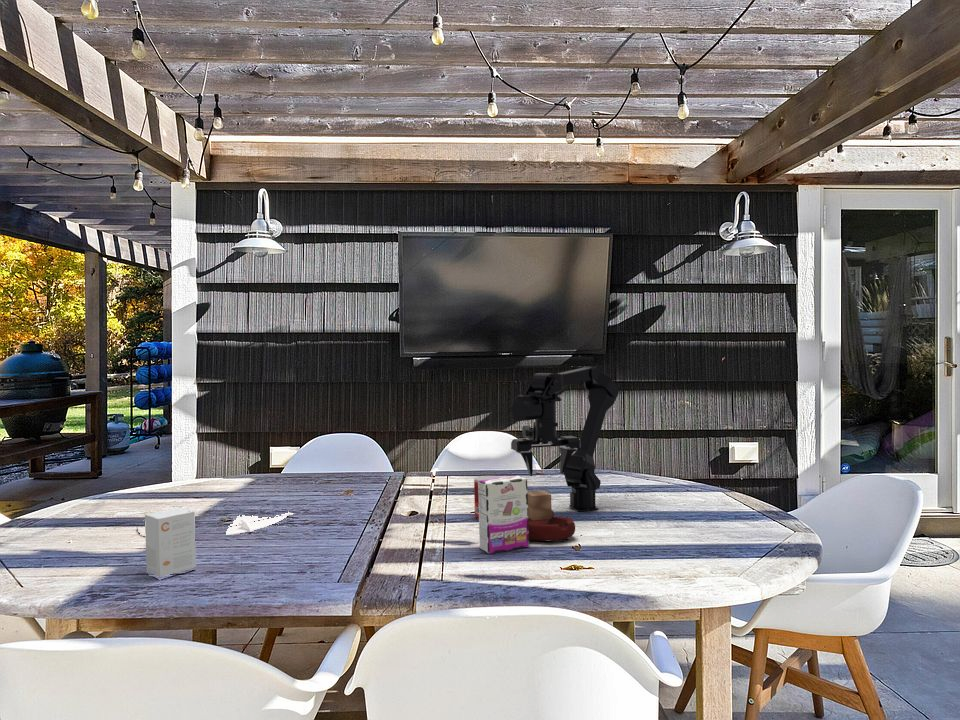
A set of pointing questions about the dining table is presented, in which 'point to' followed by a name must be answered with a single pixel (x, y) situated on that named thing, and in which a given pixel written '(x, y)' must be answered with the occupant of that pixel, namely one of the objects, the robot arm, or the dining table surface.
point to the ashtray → (551, 529)
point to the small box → (170, 541)
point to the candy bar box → (503, 514)
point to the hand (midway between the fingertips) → (546, 474)
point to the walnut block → (539, 505)
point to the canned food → (477, 491)
